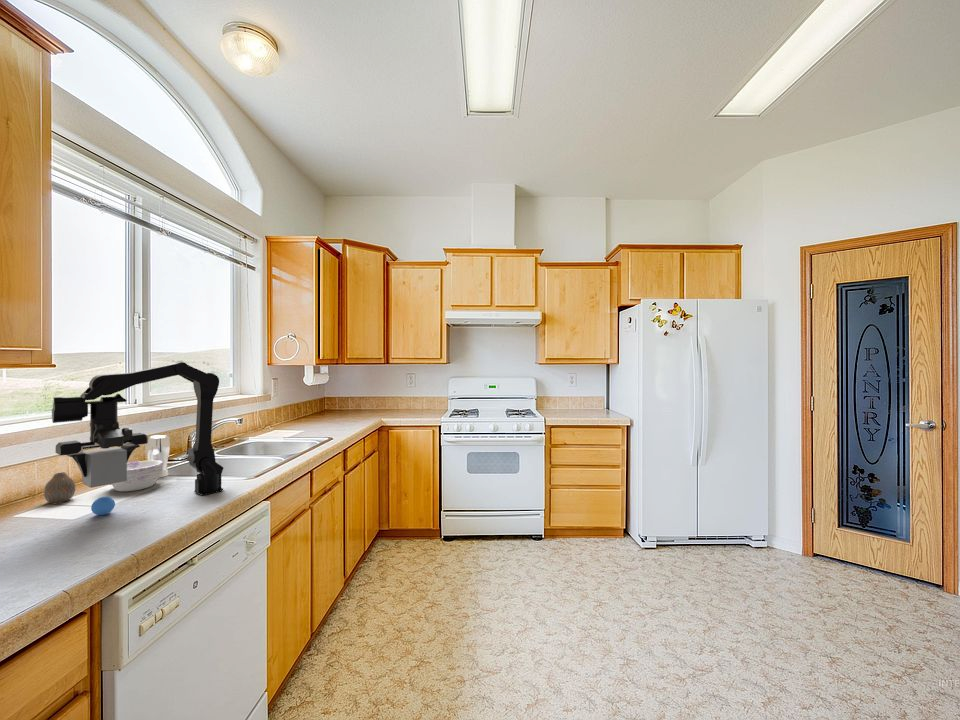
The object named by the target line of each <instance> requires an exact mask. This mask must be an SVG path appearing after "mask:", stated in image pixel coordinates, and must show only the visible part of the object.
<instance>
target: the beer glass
mask: <svg viewBox="0 0 960 720" xmlns="http://www.w3.org/2000/svg"><path fill="white" fill-rule="evenodd" d="M147 437H148V443H147V444H146V458H147V461H150V460H157V461H162V462H163V476H161V477H159V478H164V477H168V476H169V471H168V460H169V456H170V449H171V447H170V446H171V445H170V444H171V441H170V435H169V434H157V435H150V436H147ZM159 478H158V479H159Z"/></svg>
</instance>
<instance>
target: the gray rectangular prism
mask: <svg viewBox="0 0 960 720" xmlns="http://www.w3.org/2000/svg"><path fill="white" fill-rule="evenodd" d="M83 453H86V455H85V462H86V469H87V477H84V476H83V474H82V473H81V476H82V477H81V478H82V480H81V481H82V482H81V483H82V484H83V485H85V486H87V487H88V488H90V489H92V488H96V487H101V486H109V485H108V484H113V483H118V482H123V481H127V463H128V461H127V450H125V449H122V448H121V447H117V446H116V447H109V448H106V449H103V448H101V449H95V450H94V449H93V450H87V451H83Z"/></svg>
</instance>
